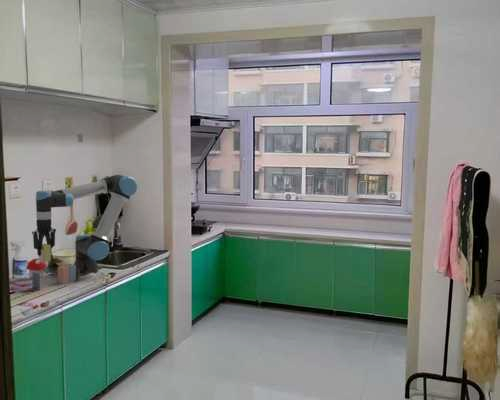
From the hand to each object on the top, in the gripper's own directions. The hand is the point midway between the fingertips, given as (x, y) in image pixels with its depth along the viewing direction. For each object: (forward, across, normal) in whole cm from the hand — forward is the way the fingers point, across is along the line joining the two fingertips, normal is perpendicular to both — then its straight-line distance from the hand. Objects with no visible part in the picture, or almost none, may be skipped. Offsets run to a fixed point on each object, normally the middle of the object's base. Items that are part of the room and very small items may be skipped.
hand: (44, 260), depth 261 cm
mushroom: (+14, -4, -13) cm, 19 cm away
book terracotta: (+13, -5, +9) cm, 16 cm away
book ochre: (0, 0, 0) cm, 0 cm away
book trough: (+14, 0, +8) cm, 16 cm away
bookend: (+12, +13, +9) cm, 20 cm away
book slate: (+13, -10, +9) cm, 18 cm away
